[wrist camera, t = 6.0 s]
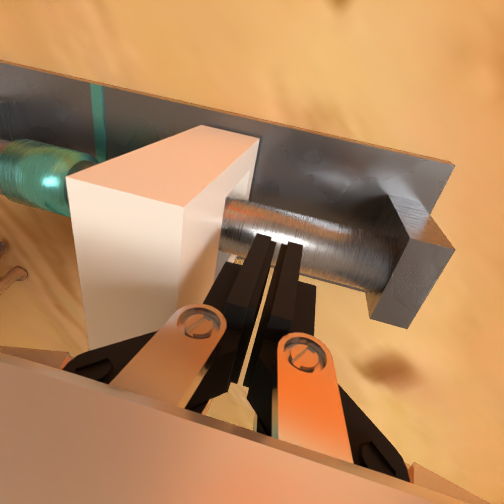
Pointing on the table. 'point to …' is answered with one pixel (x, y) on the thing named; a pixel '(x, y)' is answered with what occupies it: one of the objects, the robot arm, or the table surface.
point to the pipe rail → (262, 188)
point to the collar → (154, 228)
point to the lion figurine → (10, 273)
